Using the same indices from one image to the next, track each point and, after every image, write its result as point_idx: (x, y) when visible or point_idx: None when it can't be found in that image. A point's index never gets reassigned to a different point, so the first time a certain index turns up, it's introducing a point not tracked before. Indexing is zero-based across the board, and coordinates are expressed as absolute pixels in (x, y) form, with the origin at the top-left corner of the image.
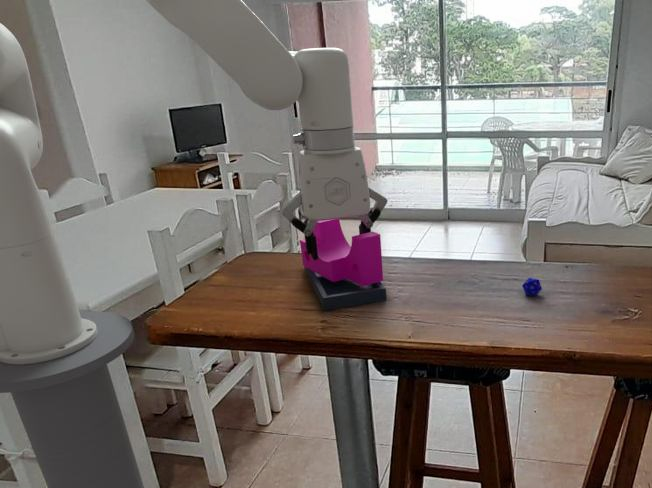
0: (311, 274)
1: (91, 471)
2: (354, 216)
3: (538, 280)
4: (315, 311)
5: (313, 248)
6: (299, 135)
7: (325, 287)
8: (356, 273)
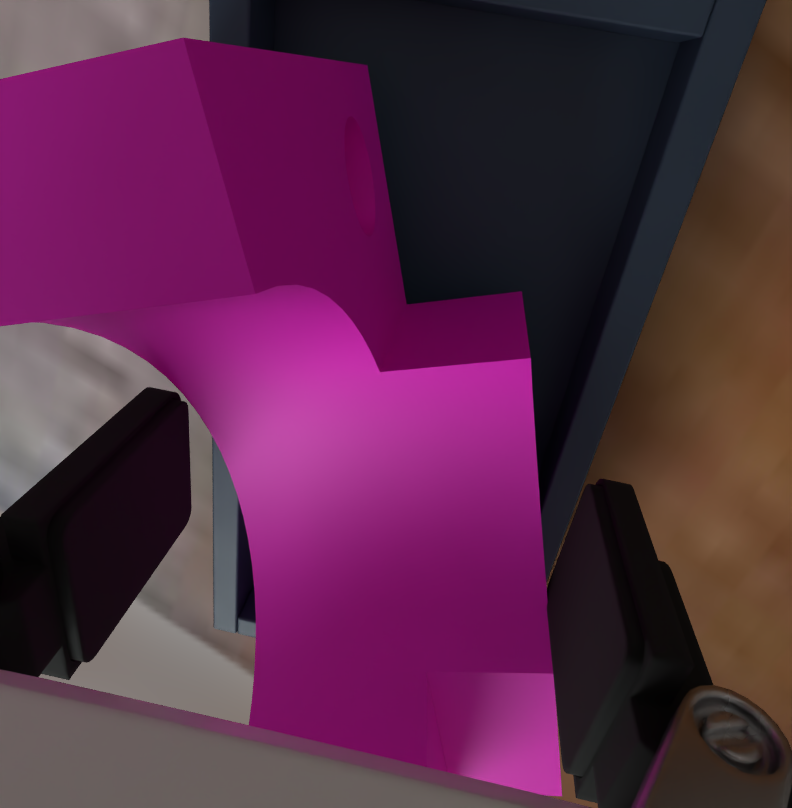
0: (575, 496)
1: None
2: (7, 673)
3: None
4: (786, 36)
5: (647, 550)
6: None
7: (537, 360)
8: (356, 204)
